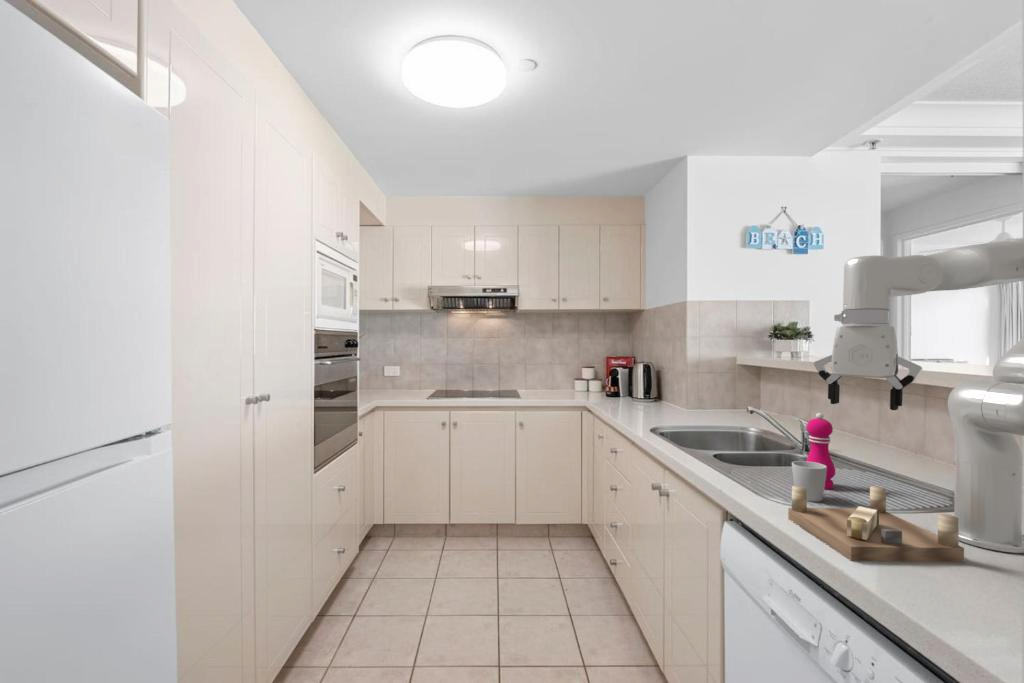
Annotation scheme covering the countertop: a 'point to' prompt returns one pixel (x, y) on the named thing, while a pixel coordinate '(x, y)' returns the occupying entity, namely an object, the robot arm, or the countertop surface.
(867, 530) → the folding leg
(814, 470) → the cup
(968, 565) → the countertop surface
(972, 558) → the countertop surface
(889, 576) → the countertop surface
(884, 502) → the stool seat
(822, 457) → the pepper mill
